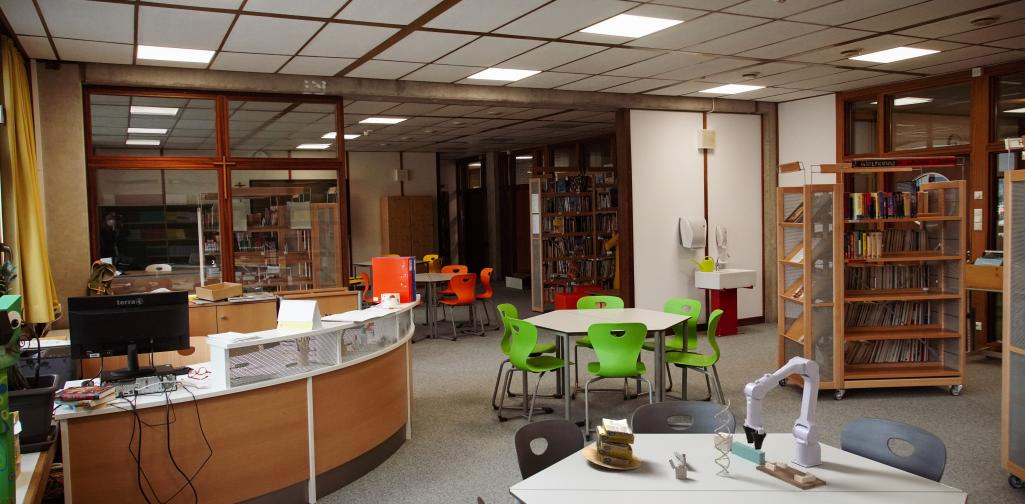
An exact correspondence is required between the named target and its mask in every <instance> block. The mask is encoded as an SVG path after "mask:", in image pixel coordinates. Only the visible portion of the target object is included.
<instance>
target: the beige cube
mask: <svg viewBox="0 0 1025 504" xmlns="http://www.w3.org/2000/svg"><path fill="white" fill-rule="evenodd" d="M717 433H718V434H721V436H722V435H725V436H728V434H729V433H728V432H727V433H726V432H723V431H719V432H717ZM725 436H722V437H724V438H727V437H725ZM733 436H734V434H732V433H730V436H729V438H728V439H727V441H728V442H729V444H730V450H732V442H734V437H733ZM713 437H714V445H713V446H714V449H715V444H717V443H719V442H721V441H722V440H724V439H723V438H721V437H720V436H719V435H717V434H716V433H715V434H714V436H713ZM723 443H727V442H726V441H724V442H722V443H720V444H721V445H717V446H716V447H717V448H718V449H721V451H723V450H725V451H724V452H726V451H728V449H729V446H728V444H723ZM718 449H717V450H718Z"/></svg>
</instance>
